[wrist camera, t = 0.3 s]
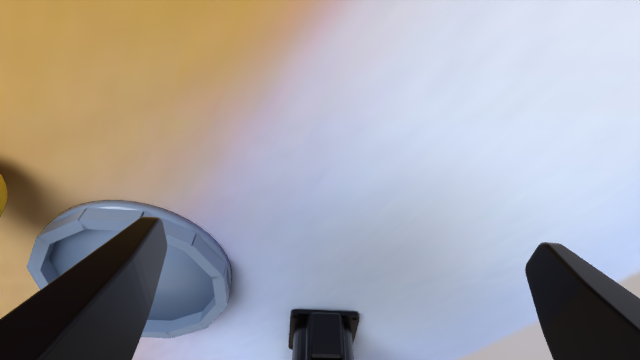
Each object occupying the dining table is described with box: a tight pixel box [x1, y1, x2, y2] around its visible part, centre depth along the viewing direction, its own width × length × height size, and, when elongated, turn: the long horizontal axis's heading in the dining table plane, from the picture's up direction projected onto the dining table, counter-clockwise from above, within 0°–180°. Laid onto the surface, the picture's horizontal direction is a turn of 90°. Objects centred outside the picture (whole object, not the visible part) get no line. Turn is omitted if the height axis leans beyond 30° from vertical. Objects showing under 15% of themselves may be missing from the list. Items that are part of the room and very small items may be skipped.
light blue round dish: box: [27, 200, 232, 338], centre depth 30 cm, size 15×15×2 cm
